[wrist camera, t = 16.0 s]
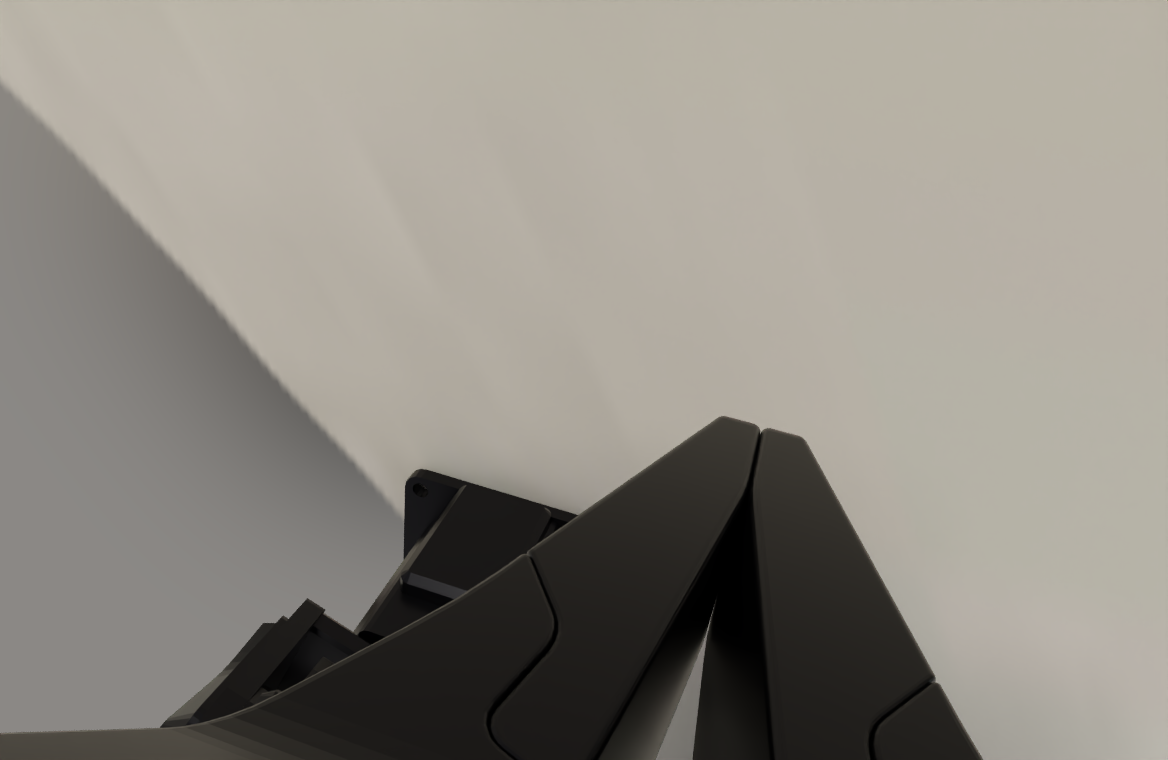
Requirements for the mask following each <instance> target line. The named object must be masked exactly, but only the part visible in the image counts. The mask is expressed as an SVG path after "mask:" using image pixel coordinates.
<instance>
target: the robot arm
mask: <svg viewBox="0 0 1168 760" xmlns="http://www.w3.org/2000/svg"><path fill="white" fill-rule="evenodd" d="M420 484H422V485H424V486H425V487H426V488H427V489H424V488H423V487H421V485H420ZM714 604H715V605H714ZM713 607H714V609H713ZM324 611H325V609H323V608H322V607H320V606H319V605H317V604H315V603H314V602H312V601H311V600H309V599H308V598H307V600H306V601H305V602H304V603H303V604H302V605H301V606H300V607H299V608H298V609H297V610H296V612H295V613H294V614H293V615H292V616H291V617H290V618H289V619H287V618H286V617H284V616H282V617H281V618H280V620H279V621H278V622H277V623H263V624H262V625H261V627H260V628H259V629H258V630H257V631H256V633H255V634H254V635H253V636H252V637H251V639H250V640H249V641H248V642H247V643H246V645H245V646H244V647H243V648H242V649H241V651H240V652H239V653H238V654H237V655H236V657H235V658H234V659H233V660H232V661H231V662H230V664H229V665H228V666H227V667H226V668H225V669H224V670H223V671H222V672H221V673H220V674H219V675H218V676H217V677H216V678H215V679H213V680H212V681H211V682H210V683H209V684H208V685H206V686H205V687H204V688H203V689H202V690H201V691H200V692H198V693H197V694H196V695H195V696H194V697H193V698H191V699H190V700H189V701H188V702H187V703H185V704H184V705H183V706H182V707H181V708H180V709H179V710H177V711H176V712H175V713H174V714H173V715H172V716H170V717H169V718H168V719H167V720H166V721H165V722H164V723H163V724H162V726H161V727H160V728H144V729H113V730H80V731H49V732H18V733H0V760H655V759H656V757H657V754H658V752H659V749H660V747H661V745H662V742H663V740H664V737H665V735H666V732H667V730H668V727H669V725H670V723H671V720H672V718H673V715H674V713H675V710H676V708H677V706H678V703H679V701H680V698H681V696H682V693H683V691H684V688H685V686H686V684H687V681H688V679H689V676H690V674H691V671H692V669H693V667H694V664H695V662H696V659H697V657H698V654H699V651H700V649H701V646H702V643H703V641H704V638H705V635H706V631H707V628H708V625H709V621H710V618H711V621H710V626H709V630H708V635H707V641H706V648H705V655H704V662H703V671H702V680H701V689H700V698H699V707H698V716H697V725H696V734H695V742H694V751H693V760H983V759H982V757H981V755H980V754H979V752H978V750H977V749H976V747H975V745H974V743H973V742H972V740H971V738H970V737H969V735H968V733H967V732H966V730H965V728H964V726H963V725H962V723H961V721H960V720H959V718H958V716H957V714H956V712H955V711H954V709H953V707H952V705H951V703H950V702H949V700H948V698H947V696H946V694H945V692H944V691H943V689H942V687H941V685H940V684H938V683H935V681H936V678H935V675H934V673H933V671H932V670H931V668H930V666H929V664H928V662H927V661H926V659H925V657H924V655H923V653H922V651H921V650H920V648H919V646H918V644H917V642H916V641H915V639H914V637H913V635H912V633H911V631H910V630H909V628H908V626H907V624H906V622H905V621H904V619H903V617H902V615H901V613H900V611H899V610H898V608H897V606H896V604H895V602H894V601H893V599H892V597H891V595H890V593H889V591H888V590H887V588H886V586H885V584H884V582H883V581H882V579H881V577H880V575H879V573H878V571H877V570H876V568H875V566H874V564H873V562H872V561H871V559H870V557H869V555H868V553H867V551H866V550H865V548H864V546H863V544H862V542H861V541H860V539H859V537H858V535H857V533H856V531H855V530H854V528H853V526H852V524H851V522H850V521H849V519H848V517H847V515H846V513H845V511H844V510H843V508H842V506H841V504H840V502H839V501H838V499H837V497H836V495H835V493H834V491H833V490H832V488H831V486H830V484H829V482H828V481H827V479H826V477H825V475H824V473H823V471H822V470H821V468H820V466H819V464H818V462H817V461H816V459H815V457H814V455H813V453H812V451H811V450H810V448H809V446H808V444H807V442H806V441H805V440H804V439H803V438H802V437H800V436H797V435H793V434H789V433H786V432H782V431H778V430H775V429H771V428H767V429H764V430H763V431H762V432H761V434H760V429H759V427H758V426H757V425H755V424H752V423H749V422H745V421H741V420H738V419H734V418H730V417H727V416H721V417H719V418H717V419H716V420H714V421H713V422H711V423H710V424H708V425H707V426H706V427H704V428H703V429H701V430H700V431H698V432H697V433H696V434H694V435H693V436H691V437H690V438H688V439H687V440H685V441H684V442H683V443H681V444H680V445H678V446H677V447H675V448H674V449H673V450H671V451H670V452H668V453H667V454H665V455H664V456H663V457H661V458H660V459H658V460H657V461H655V462H654V463H653V464H651V465H650V466H648V467H647V468H645V469H644V470H643V471H641V472H640V473H638V474H637V475H635V476H634V477H633V478H631V479H630V480H628V481H627V482H625V483H624V484H623V485H621V486H620V487H618V488H617V489H615V490H614V491H613V492H611V493H610V494H608V495H607V496H605V497H604V498H603V499H601V500H600V501H598V502H597V503H595V504H594V505H593V506H591V507H590V508H588V509H587V510H585V511H584V512H583V513H581V514H580V515H576V514H572V513H569V512H566V511H562V510H559V509H556V508H552V507H549V506H546V505H542V504H539V503H536V502H532V501H529V500H526V499H522V498H519V497H516V496H512V495H509V494H506V493H502V492H499V491H496V490H492V489H489V488H486V487H482V486H479V485H476V484H472V483H469V482H466V481H462V480H459V479H456V478H452V477H449V476H446V475H442V474H439V473H436V472H432V471H429V470H424V469H419V470H416V471H415V472H414V473H413V474H412V475H411V476H410V477H409V479H408V480H407V481H406V485H405V519H404V561H403V562H402V563H401V565H400V566H399V568H398V569H397V571H396V572H395V573H394V575H393V576H392V578H391V579H390V580H389V582H388V583H387V585H386V586H385V588H384V589H383V591H382V592H381V593H380V595H379V596H378V597H377V599H376V600H375V602H374V603H373V605H372V606H371V607H370V609H369V610H368V612H367V613H366V615H365V616H364V617H363V619H362V620H361V622H360V623H359V625H358V626H357V627H356V629H355V630H354V632H352V631H351V630H349V629H347V628H346V627H344V626H343V625H341V624H340V623H338V622H337V621H335V620H334V619H332V618H330V617H329V616H327V615H326V614H324ZM712 611H713V613H712ZM711 614H712V617H711Z"/></svg>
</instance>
